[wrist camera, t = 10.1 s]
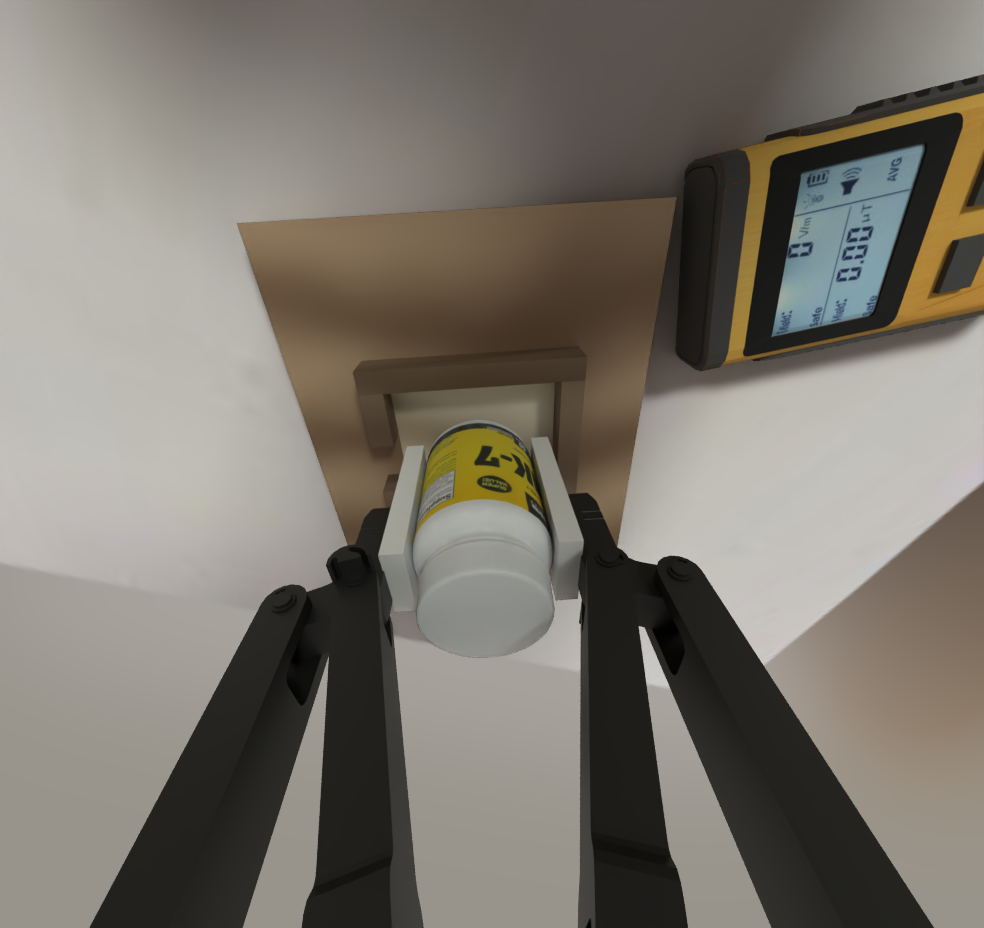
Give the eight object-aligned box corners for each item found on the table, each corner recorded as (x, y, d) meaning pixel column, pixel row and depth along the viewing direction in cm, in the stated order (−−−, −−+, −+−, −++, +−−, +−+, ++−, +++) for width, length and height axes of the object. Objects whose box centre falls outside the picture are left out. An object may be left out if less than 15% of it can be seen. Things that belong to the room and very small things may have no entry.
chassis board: (252, 222, 15) (214, 224, 13) (663, 198, 15) (696, 195, 13) (368, 576, 26) (358, 611, 24) (607, 558, 26) (620, 591, 24)
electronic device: (1000, 289, 18) (1097, 303, 16) (670, 361, 19) (705, 387, 17) (1121, 40, 14) (1289, -3, 11) (680, 150, 15) (731, 137, 12)
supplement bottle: (550, 456, 18) (604, 611, 11) (484, 517, 20) (495, 683, 13) (471, 394, 16) (475, 533, 9) (406, 468, 18) (368, 631, 11)
